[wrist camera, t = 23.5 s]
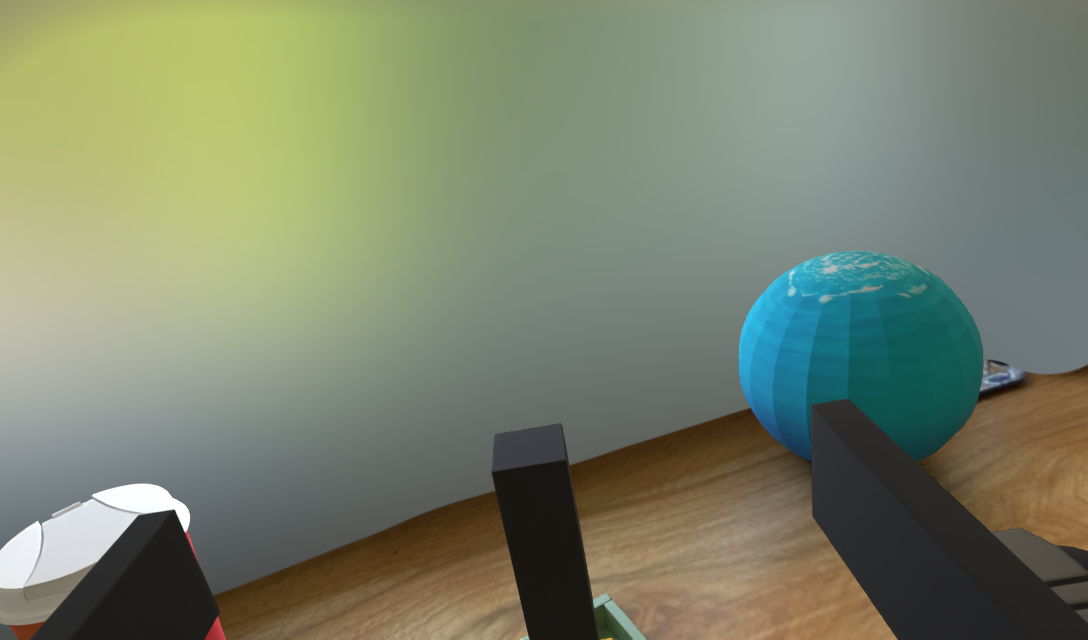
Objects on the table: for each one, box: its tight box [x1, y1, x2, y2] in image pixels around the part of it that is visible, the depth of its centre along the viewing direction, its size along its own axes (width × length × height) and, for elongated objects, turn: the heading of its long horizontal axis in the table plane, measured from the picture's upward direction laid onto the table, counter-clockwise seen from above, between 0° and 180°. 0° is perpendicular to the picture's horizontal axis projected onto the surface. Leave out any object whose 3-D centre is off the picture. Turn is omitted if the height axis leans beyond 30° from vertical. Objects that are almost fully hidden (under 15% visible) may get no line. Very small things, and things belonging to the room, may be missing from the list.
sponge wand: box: [492, 423, 613, 640], centre depth 24 cm, size 4×6×17 cm, turn 2°
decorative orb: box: [739, 251, 983, 462], centre depth 44 cm, size 15×15×15 cm
